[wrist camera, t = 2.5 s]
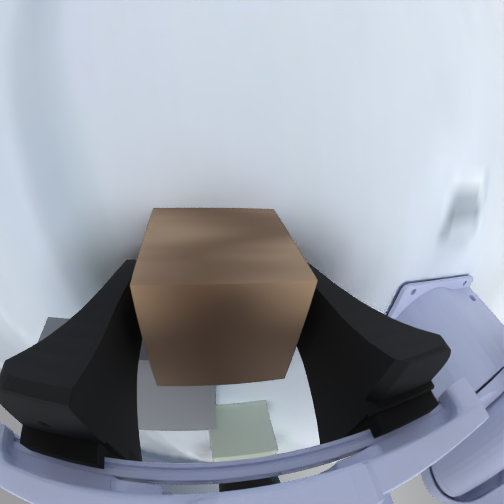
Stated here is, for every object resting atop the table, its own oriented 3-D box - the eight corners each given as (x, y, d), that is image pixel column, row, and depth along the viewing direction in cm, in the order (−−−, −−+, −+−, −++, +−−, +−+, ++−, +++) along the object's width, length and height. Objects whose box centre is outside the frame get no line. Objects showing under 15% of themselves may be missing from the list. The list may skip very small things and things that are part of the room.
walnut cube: (273, 208, 12) (317, 280, 7) (259, 297, 14) (284, 378, 10) (153, 207, 10) (129, 284, 6) (162, 300, 13) (157, 386, 9)
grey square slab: (210, 315, 15) (215, 359, 12) (212, 397, 20) (216, 429, 17) (50, 312, 13) (35, 350, 10) (97, 394, 18) (93, 424, 15)
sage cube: (265, 399, 21) (278, 449, 17) (258, 420, 23) (268, 463, 19) (206, 404, 20) (213, 457, 16) (207, 424, 22) (214, 469, 18)
